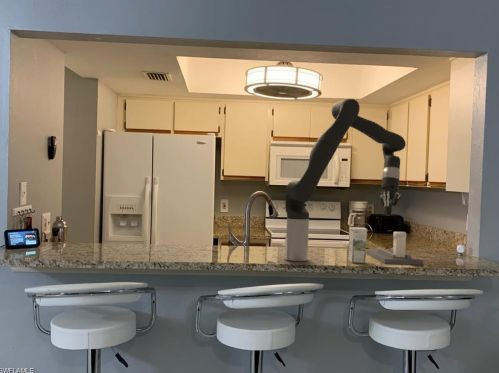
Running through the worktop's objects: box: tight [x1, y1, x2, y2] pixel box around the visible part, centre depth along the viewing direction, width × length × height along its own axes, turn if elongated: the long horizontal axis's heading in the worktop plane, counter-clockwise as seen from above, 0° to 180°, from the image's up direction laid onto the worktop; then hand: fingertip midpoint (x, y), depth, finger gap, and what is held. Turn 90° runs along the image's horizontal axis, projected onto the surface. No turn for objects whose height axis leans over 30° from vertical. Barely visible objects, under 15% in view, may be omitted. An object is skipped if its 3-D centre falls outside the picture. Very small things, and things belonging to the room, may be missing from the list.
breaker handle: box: [392, 231, 407, 257], centre depth 173 cm, size 4×3×11 cm
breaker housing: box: [366, 246, 424, 266], centre depth 180 cm, size 16×24×4 cm, turn 2°
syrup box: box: [347, 226, 368, 264], centre depth 170 cm, size 6×6×14 cm
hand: (387, 215), depth 184 cm, fingers closed
